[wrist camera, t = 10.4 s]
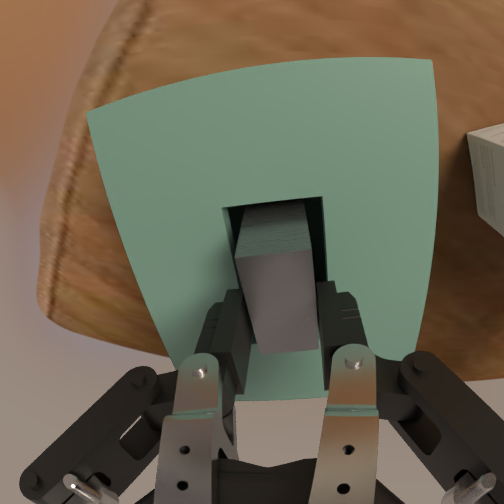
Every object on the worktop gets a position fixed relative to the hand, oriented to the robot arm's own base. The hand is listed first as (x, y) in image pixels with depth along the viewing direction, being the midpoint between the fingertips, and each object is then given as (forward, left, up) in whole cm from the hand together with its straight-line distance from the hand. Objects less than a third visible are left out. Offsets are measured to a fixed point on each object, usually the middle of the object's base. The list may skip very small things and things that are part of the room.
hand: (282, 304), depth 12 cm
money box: (0, 0, -12) cm, 12 cm away
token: (0, -1, -4) cm, 4 cm away
